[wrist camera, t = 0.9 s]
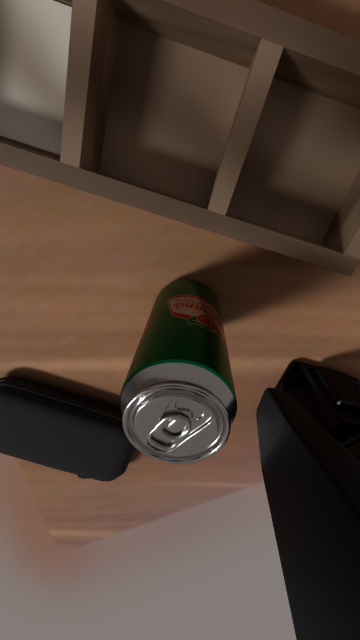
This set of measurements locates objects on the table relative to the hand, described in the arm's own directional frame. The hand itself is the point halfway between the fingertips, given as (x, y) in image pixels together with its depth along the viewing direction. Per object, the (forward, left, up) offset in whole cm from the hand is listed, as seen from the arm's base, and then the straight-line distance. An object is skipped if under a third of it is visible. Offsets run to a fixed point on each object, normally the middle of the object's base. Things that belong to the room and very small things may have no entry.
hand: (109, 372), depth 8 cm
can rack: (+8, +2, -14) cm, 16 cm away
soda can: (-3, -3, -14) cm, 14 cm away
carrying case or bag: (-20, +5, -14) cm, 25 cm away
